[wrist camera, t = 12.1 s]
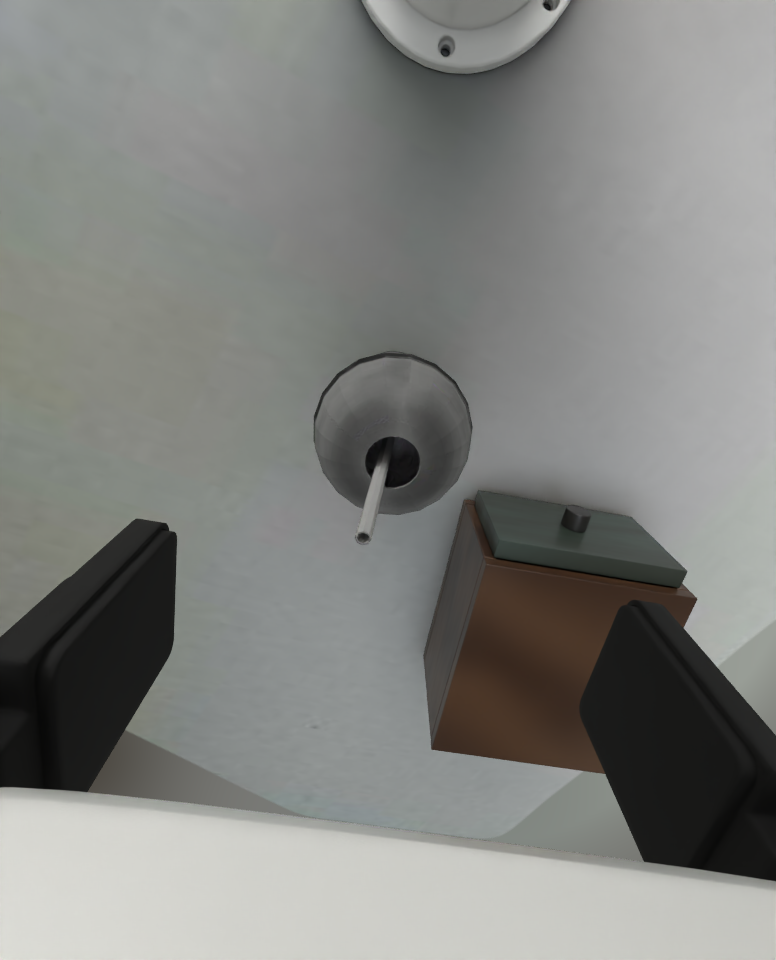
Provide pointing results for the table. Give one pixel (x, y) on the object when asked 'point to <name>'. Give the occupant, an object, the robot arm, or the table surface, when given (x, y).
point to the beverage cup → (392, 435)
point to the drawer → (574, 540)
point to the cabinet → (521, 652)
